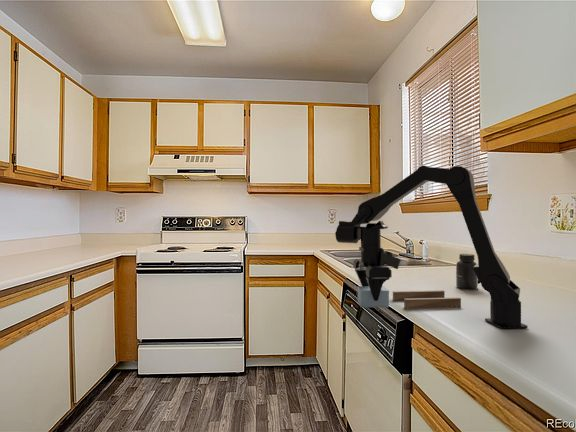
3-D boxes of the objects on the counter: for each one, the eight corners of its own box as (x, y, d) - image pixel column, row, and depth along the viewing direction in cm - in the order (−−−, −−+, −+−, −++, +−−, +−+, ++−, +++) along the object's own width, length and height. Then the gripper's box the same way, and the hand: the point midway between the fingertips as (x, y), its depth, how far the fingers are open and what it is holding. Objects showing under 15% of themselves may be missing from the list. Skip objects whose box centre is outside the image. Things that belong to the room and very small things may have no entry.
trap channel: (460, 307, 98) (460, 298, 98) (405, 308, 98) (405, 299, 98) (442, 298, 109) (442, 290, 109) (392, 299, 108) (392, 291, 108)
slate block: (388, 308, 99) (388, 290, 99) (360, 307, 99) (360, 290, 99) (384, 302, 105) (384, 286, 105) (357, 302, 105) (357, 286, 105)
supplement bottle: (453, 287, 124) (453, 254, 123) (460, 285, 128) (459, 252, 128) (474, 290, 119) (473, 256, 119) (480, 287, 123) (480, 254, 123)
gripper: (410, 246, 93) (410, 304, 93) (386, 241, 112) (387, 289, 112) (369, 247, 93) (370, 305, 93) (352, 241, 111) (353, 290, 111)
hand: (371, 296), depth 102 cm, fingers open, 9 cm apart
